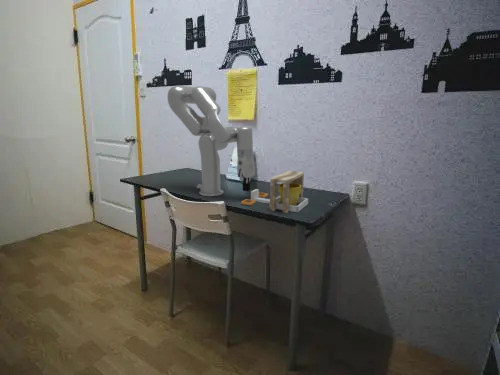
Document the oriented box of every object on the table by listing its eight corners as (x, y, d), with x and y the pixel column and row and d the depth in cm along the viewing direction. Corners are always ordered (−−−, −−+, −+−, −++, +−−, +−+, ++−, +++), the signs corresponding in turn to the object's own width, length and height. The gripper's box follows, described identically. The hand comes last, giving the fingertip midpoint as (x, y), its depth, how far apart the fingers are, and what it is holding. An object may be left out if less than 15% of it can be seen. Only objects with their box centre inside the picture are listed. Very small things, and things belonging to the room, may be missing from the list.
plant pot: (284, 201, 145) (285, 181, 142) (304, 204, 139) (305, 184, 137) (273, 206, 137) (274, 185, 134) (293, 210, 131) (294, 189, 128)
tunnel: (269, 210, 131) (270, 178, 128) (287, 198, 149) (288, 170, 145) (286, 213, 128) (288, 180, 124) (302, 200, 145) (303, 172, 142)
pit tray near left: (254, 197, 151) (254, 194, 150) (259, 195, 155) (259, 192, 155) (263, 198, 149) (263, 195, 148) (268, 196, 153) (268, 193, 152)
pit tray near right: (241, 204, 139) (241, 201, 139) (246, 201, 143) (246, 198, 143) (250, 206, 137) (250, 203, 136) (255, 203, 141) (255, 200, 140)
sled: (246, 203, 140) (246, 193, 139) (260, 196, 153) (260, 187, 151) (297, 212, 128) (298, 201, 127) (308, 203, 141) (308, 193, 140)
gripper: (244, 155, 135) (245, 194, 139) (259, 151, 148) (260, 188, 152) (230, 155, 138) (232, 193, 142) (245, 151, 151) (247, 186, 155)
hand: (246, 190), depth 147 cm, fingers closed
